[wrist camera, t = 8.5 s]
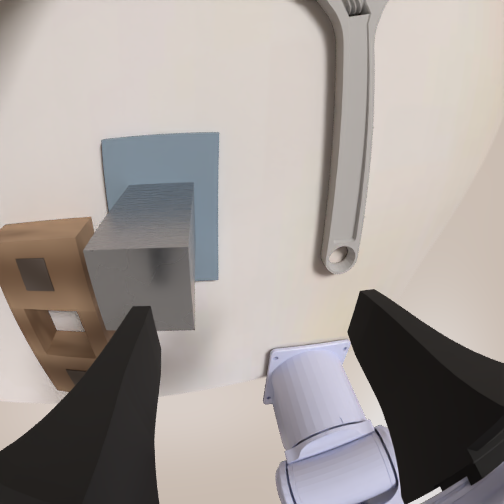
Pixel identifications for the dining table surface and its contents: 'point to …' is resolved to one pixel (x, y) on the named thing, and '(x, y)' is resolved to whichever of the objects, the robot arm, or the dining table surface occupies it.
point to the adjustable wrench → (350, 126)
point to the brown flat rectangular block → (53, 294)
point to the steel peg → (146, 256)
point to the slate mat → (172, 180)
